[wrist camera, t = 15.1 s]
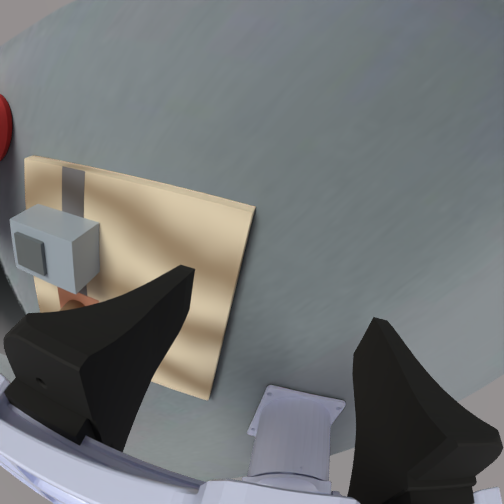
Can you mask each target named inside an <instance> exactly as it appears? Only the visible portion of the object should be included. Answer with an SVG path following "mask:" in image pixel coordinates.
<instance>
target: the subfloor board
mask: <svg viewBox="0 0 504 504" xmlns="http://www.w3.org/2000/svg"><path fill="white" fill-rule="evenodd" d="M25 201H26V210H27V209H29V208H31V207H32V206H34V205H36V204H40V205H44V206H47V207H50V208H53V209H57V210H60V211H63V212H66V213H69V214H73V215H76V216H79V217H83V218H86V219H89V220H92V221H96V222H99V261H100V272H99V273H98V274H97V275H96V276H95V277H94V278H93V279H92V280H91V281H90V282H88V283H87V284H86V285H85V286H84V287H83V288H82V289H81V290H80V291H79V292H78V293H77V294H73V293H71V292H69V291H66V290H64V289H62V288H60V287H57V286H55V285H53V284H51V283H48V282H46V281H44V280H42V279H40V278H38V277H35V276H34V281H35V287H36V293H37V298H38V303H39V308H40V312H41V313H43V312H56V311H59V310H60V309H61V308H62V307H63V306H64V305H65V304H66V303H67V302H68V301H69V300H77V301H79V302H81V303H82V304H84V305H85V306H88V305H92V304H96V303H100V302H103V301H106V300H109V299H112V298H115V297H118V296H120V295H123V294H125V293H128V292H130V291H132V290H134V289H136V288H138V287H140V286H142V285H144V284H146V283H148V282H150V281H152V280H154V279H156V278H157V277H159V276H161V275H163V274H165V273H166V272H168V271H170V270H172V269H173V268H175V267H177V266H179V265H184V266H187V267H191V268H194V269H195V275H194V281H193V288H192V296H191V303H190V310H189V312H188V315H187V317H186V319H185V322H184V324H183V326H182V328H181V331H180V332H179V334H178V336H177V337H176V339H175V341H174V342H173V344H172V346H171V347H170V349H169V350H168V352H167V354H166V355H165V357H164V359H163V360H162V362H161V364H160V365H159V367H158V369H157V370H156V372H155V374H154V376H153V378H152V380H151V381H152V382H155V383H157V384H160V385H163V386H166V387H168V388H171V389H174V390H177V391H180V392H183V393H186V394H189V395H192V396H195V397H198V398H201V399H204V400H208V399H209V397H210V394H211V390H212V386H213V382H214V378H215V373H216V369H217V365H218V361H219V356H220V352H221V348H222V344H223V339H224V335H225V331H226V327H227V323H228V319H229V314H230V310H231V306H232V302H233V298H234V293H235V289H236V285H237V281H238V277H239V273H240V269H241V264H242V260H243V256H244V252H245V248H246V244H247V240H248V236H249V231H250V227H251V223H252V219H253V215H254V211H255V207H254V206H251V205H247V204H243V203H240V202H236V201H232V200H228V199H224V198H221V197H217V196H213V195H209V194H205V193H201V192H197V191H193V190H189V189H185V188H181V187H177V186H173V185H169V184H164V183H160V182H156V181H152V180H148V179H143V178H139V177H135V176H130V175H126V174H121V173H117V172H112V171H108V170H103V169H99V168H94V167H89V166H85V165H80V164H75V163H70V162H65V161H60V160H55V159H50V158H45V157H40V156H34V155H33V156H30V157H27V158H25Z"/></svg>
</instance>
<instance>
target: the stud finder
mask: <svg viewBox="0 0 504 504" xmlns="http://www.w3.org/2000/svg"><path fill="white" fill-rule="evenodd" d="M10 227H11V236H12V243H13V250H14V257H15V263H16V267H17V268H19V269H21V270H23V271H25V272H27V273H29V274H31V275H33V276H35V277H38V278H40V279H42V280H44V281H46V282H48V283H51V284H53V285H55V286H57V287H60V288H62V289H64V290H66V291H69V292H71V293H73V294H77V293H78V292H79V291H80V290H81V289H82V288H83V287H84V286H85V285H86V284H87V283H88V282H90V281H91V280H92V279H93V278H94V277H95V276H96V275H97V274H98V273H99V272H100V261H99V222H96V221H92V220H89V219H86V218H83V217H79V216H76V215H73V214H69V213H66V212H63V211H60V210H57V209H53V208H50V207H47V206H44V205H40V204H36V205H34V206H32V207H31V208H29V209H27V210H25V211H23V212H21V213H19V214H18V215H16V216H14V217H12V218H10Z"/></svg>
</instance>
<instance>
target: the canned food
mask: <svg viewBox="0 0 504 504" xmlns="http://www.w3.org/2000/svg"><path fill="white" fill-rule="evenodd" d="M11 136H12V115H11V111H10V107H9V104H8V102H7V101H6V99H5V98H4V97H3V96H2V95H1V94H0V161H1V160H2V159H3V158H4V156H5V155H6V153H7V151H8V148H9V145H10V141H11Z"/></svg>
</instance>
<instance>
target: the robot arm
mask: <svg viewBox="0 0 504 504" xmlns="http://www.w3.org/2000/svg"><path fill="white" fill-rule="evenodd" d="M194 275H195V269H194V268H191V267H187V266H184V265H179V266H177V267H175V268H173V269H172V270H170V271H168V272H166V273H165V274H163V275H161V276H159V277H157V278H156V279H154V280H152V281H150V282H148V283H146V284H144V285H142V286H140V287H138V288H136V289H134V290H132V291H130V292H128V293H125V294H123V295H120V296H118V297H115V298H112V299H109V300H106V301H103V302H100V303H96V304H92V305H88V306H84V307H80V308H75V309H70V310H63V311H56V312H43V313H28V314H27V315H26V316H25V317H23V318H22V319H21V321H19V322H18V323H17V324H16V325H15V326H14V327H13V328H12V329H11V330H10V331H9V332H8V333H7V334H6V335H5V337H4V349H5V352H6V355H7V358H8V360H9V363H10V365H11V367H12V370H13V372H14V374H15V377H16V378H15V379H14V380H13V382H12V383H10V382H9V381H8V379H7V378H6V377H4V376H3V375H2V374H1V373H0V466H2V467H3V468H4V469H5V470H7V471H8V472H9V473H11V474H12V475H13V476H15V477H16V478H18V479H19V480H20V481H22V482H23V483H24V484H26V485H27V486H29V487H30V488H31V489H33V490H34V491H35V492H37V493H38V494H40V495H41V496H43V497H44V498H46V499H47V500H49V501H51V502H52V503H54V504H502V500H501V495H500V490H499V487H493V488H488V489H483V490H479V491H476V492H474V493H473V490H472V486H474V485H475V484H476V477H475V476H476V475H477V474H479V473H480V472H481V471H483V470H484V469H485V468H486V467H488V466H489V465H490V464H491V463H493V462H494V461H495V460H496V459H497V458H498V456H499V455H500V454H501V452H502V449H503V446H502V442H501V439H500V435H499V432H498V430H497V429H495V428H494V427H492V426H490V425H489V424H487V423H485V422H484V421H482V420H480V419H479V418H477V417H476V416H475V415H473V414H472V413H470V412H469V411H468V410H466V409H465V408H464V407H463V406H461V405H460V404H459V403H458V402H457V401H455V400H454V399H453V398H452V397H451V396H450V395H449V394H448V393H446V392H445V391H444V390H443V389H442V388H441V387H440V386H439V384H438V383H437V382H436V381H435V380H434V379H433V378H432V377H431V376H430V375H429V374H428V372H427V371H426V370H425V369H424V368H423V366H422V365H421V364H420V363H419V361H418V360H417V359H416V358H415V356H414V355H413V354H412V352H411V351H410V350H409V348H408V347H407V346H406V344H405V343H404V342H403V340H402V339H401V337H400V336H399V335H398V333H397V332H396V331H395V329H394V328H393V327H392V326H391V324H390V323H389V322H388V321H387V320H383V319H379V318H375V317H373V319H372V321H371V323H370V325H369V327H368V329H367V331H366V332H365V334H364V336H363V338H362V340H361V342H360V343H359V345H358V347H357V349H356V351H355V352H354V357H353V386H354V398H355V411H356V441H355V452H354V461H353V469H352V475H351V480H350V486H349V492H348V496H347V497H346V496H342V495H341V494H340V493H339V492H338V491H332V492H331V481H329V461H330V459H329V458H330V426H331V425H332V423H333V422H334V421H335V419H336V418H337V417H338V415H339V414H340V413H341V411H342V410H343V409H344V407H345V405H346V403H345V401H343V400H338V399H333V398H328V397H323V396H318V395H313V394H309V393H304V392H300V391H295V390H291V389H287V388H282V387H278V386H274V385H269V386H267V388H266V390H265V392H264V395H263V397H262V399H261V402H260V404H259V406H258V408H257V411H256V413H255V415H254V417H253V419H252V422H251V424H250V426H249V428H248V431H247V433H248V434H249V435H252V436H255V441H254V446H253V450H252V455H251V460H250V464H249V469H248V474H247V477H243V478H242V481H239V480H233V479H213V480H210V481H207V482H204V481H201V480H197V479H194V478H191V477H187V476H184V475H181V474H178V473H175V472H172V471H169V470H166V469H163V468H161V467H158V466H155V465H152V464H150V463H147V462H144V461H142V460H139V459H137V458H134V457H132V456H130V455H127V454H125V453H122V452H123V450H124V447H125V444H126V441H127V438H128V435H129V433H130V430H131V427H132V425H133V422H134V420H135V417H136V415H137V412H138V410H139V407H140V405H141V403H142V400H143V398H144V395H145V393H146V391H147V389H148V386H149V384H150V382H151V380H152V378H153V376H154V374H155V372H156V370H157V369H158V367H159V365H160V364H161V362H162V360H163V359H164V357H165V355H166V354H167V352H168V350H169V349H170V347H171V346H172V344H173V342H174V341H175V339H176V337H177V336H178V334H179V332H180V331H181V328H182V326H183V324H184V322H185V319H186V317H187V315H188V312H189V310H190V303H191V296H192V288H193V281H194ZM269 392H270V393H269Z"/></svg>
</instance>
